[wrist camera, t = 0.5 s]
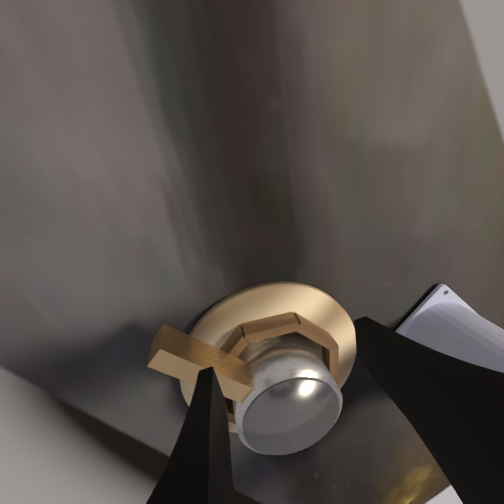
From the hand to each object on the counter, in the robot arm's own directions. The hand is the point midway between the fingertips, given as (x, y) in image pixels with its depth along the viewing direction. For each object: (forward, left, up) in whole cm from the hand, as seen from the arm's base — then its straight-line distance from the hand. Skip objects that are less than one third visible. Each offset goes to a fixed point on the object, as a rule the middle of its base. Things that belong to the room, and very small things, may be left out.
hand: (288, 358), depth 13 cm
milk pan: (-3, +6, -8) cm, 11 cm away
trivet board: (-7, +6, -9) cm, 13 cm away
